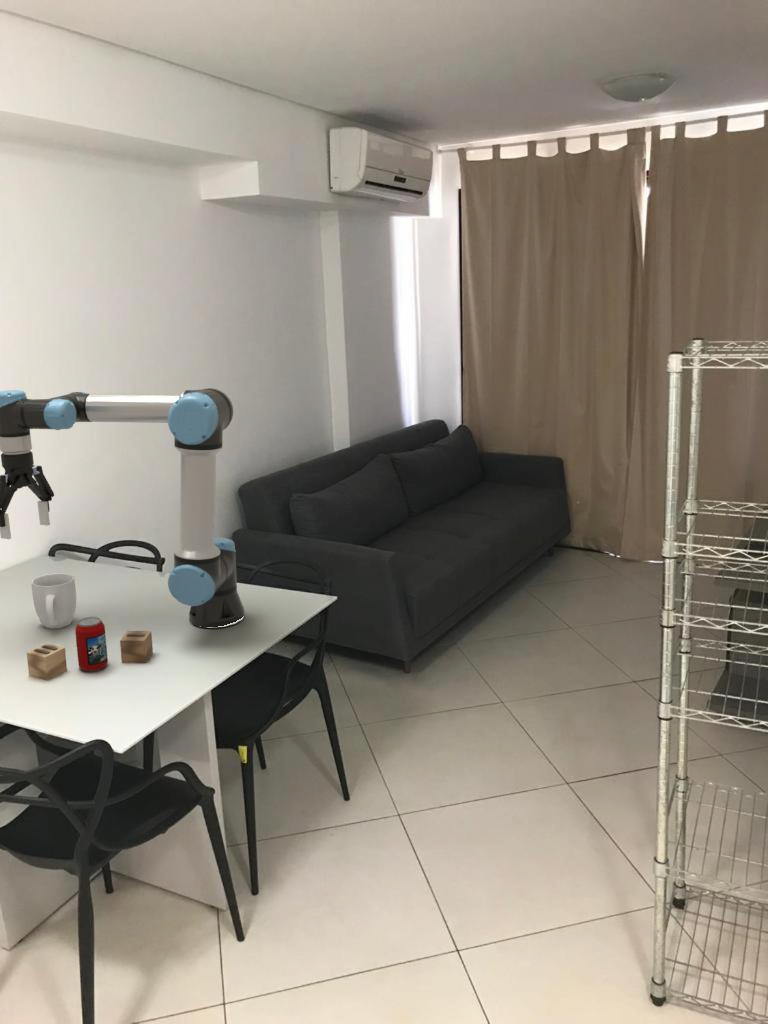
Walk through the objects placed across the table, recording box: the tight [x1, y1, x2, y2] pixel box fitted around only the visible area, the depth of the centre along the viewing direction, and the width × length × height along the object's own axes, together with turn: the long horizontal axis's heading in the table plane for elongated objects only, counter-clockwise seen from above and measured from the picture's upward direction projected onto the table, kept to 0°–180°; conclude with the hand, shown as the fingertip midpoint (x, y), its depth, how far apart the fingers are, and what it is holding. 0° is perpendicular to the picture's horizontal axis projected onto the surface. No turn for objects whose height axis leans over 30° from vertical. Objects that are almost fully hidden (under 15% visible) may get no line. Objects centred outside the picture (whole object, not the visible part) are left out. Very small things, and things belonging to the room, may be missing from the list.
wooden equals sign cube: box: [26, 642, 68, 681], centre depth 199 cm, size 6×6×6 cm
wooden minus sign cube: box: [119, 630, 154, 664], centre depth 207 cm, size 6×6×6 cm
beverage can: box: [74, 616, 109, 672], centre depth 201 cm, size 7×7×12 cm
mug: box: [31, 572, 77, 630], centre depth 225 cm, size 15×11×13 cm
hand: (26, 531), depth 219 cm, fingers open, 13 cm apart
